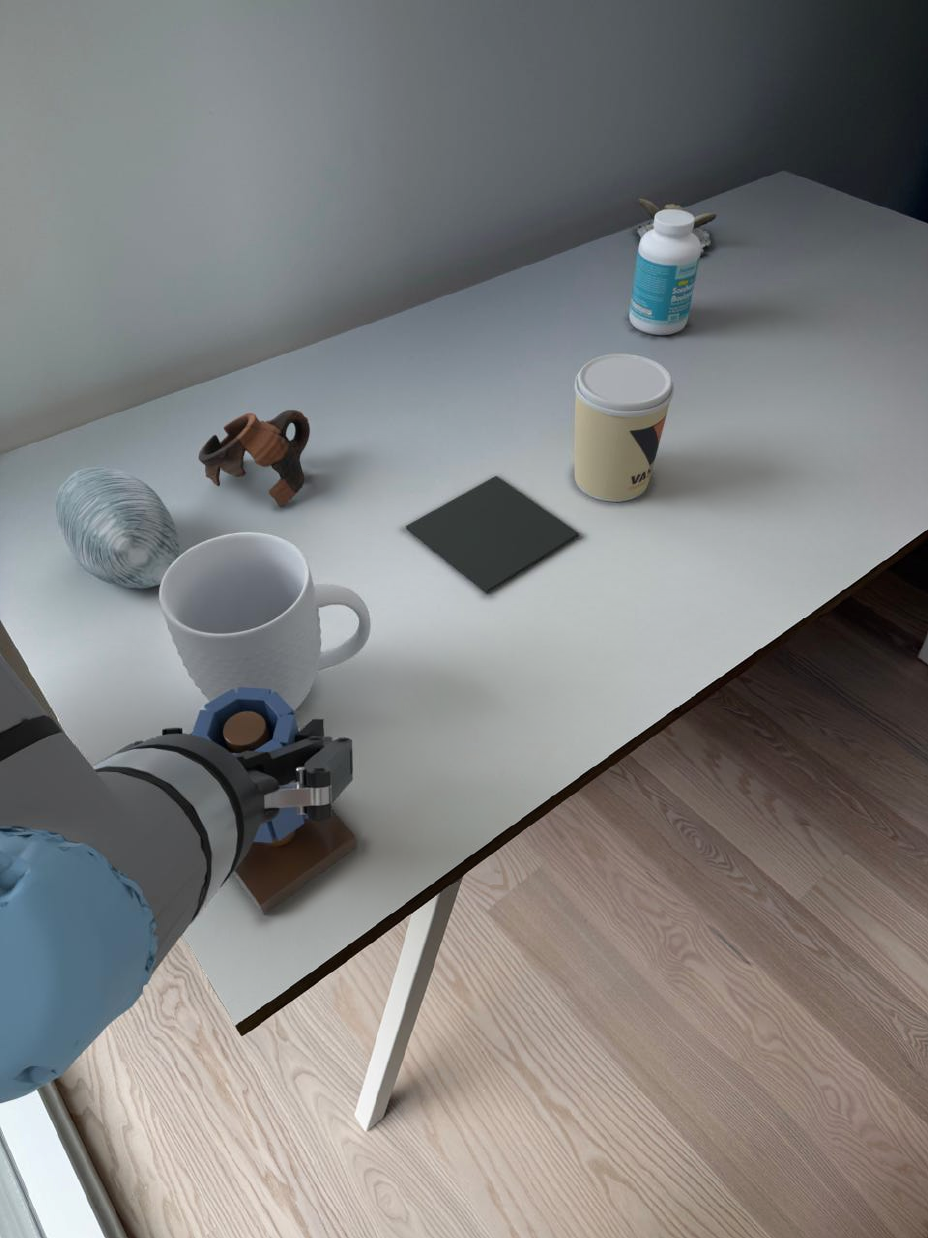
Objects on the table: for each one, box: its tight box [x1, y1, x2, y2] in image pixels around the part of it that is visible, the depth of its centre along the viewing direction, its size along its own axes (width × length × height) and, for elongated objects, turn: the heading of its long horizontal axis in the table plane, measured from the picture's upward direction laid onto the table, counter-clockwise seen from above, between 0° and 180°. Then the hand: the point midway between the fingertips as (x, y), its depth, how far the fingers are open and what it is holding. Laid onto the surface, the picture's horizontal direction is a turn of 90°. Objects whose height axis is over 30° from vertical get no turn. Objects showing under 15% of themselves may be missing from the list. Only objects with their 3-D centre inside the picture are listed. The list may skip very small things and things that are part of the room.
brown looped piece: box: [198, 409, 311, 507], centre depth 92 cm, size 12×10×8 cm
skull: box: [636, 198, 718, 257], centre depth 128 cm, size 12×10×9 cm
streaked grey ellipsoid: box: [55, 466, 181, 589], centre depth 83 cm, size 14×10×10 cm
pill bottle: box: [628, 209, 701, 336], centre depth 110 cm, size 8×7×14 cm
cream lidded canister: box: [574, 353, 675, 503], centre depth 89 cm, size 9×9×12 cm
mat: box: [405, 475, 579, 594], centre depth 87 cm, size 12×12×1 cm
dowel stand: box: [223, 711, 358, 916], centre depth 60 cm, size 8×8×14 cm
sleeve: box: [191, 687, 308, 843], centre depth 58 cm, size 6×6×9 cm
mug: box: [158, 531, 372, 711], centre depth 70 cm, size 15×11×13 cm
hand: (269, 739), depth 62 cm, fingers closed on sleeve, 6 cm apart
